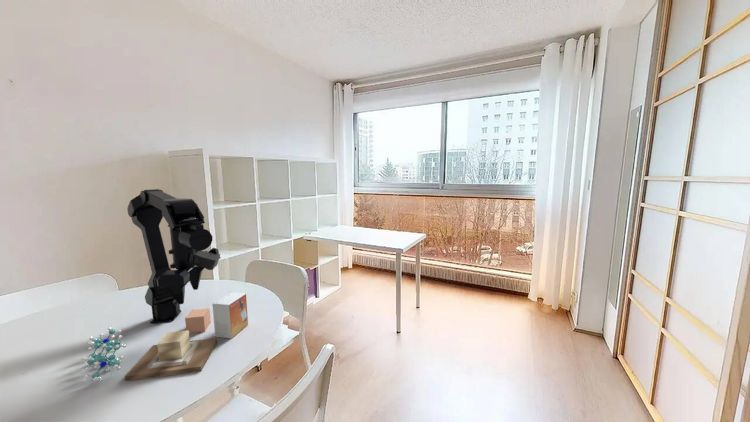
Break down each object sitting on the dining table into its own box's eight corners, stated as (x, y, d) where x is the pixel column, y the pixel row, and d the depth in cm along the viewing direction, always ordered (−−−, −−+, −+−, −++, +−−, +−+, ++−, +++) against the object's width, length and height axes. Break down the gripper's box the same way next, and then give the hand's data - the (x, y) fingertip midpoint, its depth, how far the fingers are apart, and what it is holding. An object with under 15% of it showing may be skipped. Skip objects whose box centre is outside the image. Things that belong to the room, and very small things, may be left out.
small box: (231, 339, 81) (228, 305, 80) (214, 337, 82) (211, 303, 81) (249, 324, 89) (246, 293, 88) (233, 322, 90) (230, 291, 89)
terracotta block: (186, 333, 84) (185, 318, 84) (193, 324, 89) (191, 310, 88) (205, 331, 85) (203, 316, 85) (210, 322, 90) (209, 308, 90)
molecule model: (128, 342, 80) (124, 318, 79) (128, 376, 67) (124, 348, 66) (87, 354, 75) (83, 329, 74) (79, 394, 62) (74, 364, 61)
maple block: (159, 362, 70) (157, 344, 69) (169, 350, 75) (167, 332, 74) (182, 359, 71) (180, 341, 70) (190, 347, 76) (188, 330, 75)
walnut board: (125, 381, 65) (124, 373, 65) (153, 349, 77) (152, 342, 77) (201, 370, 69) (200, 363, 68) (217, 341, 80) (217, 335, 80)
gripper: (201, 253, 72) (206, 310, 74) (225, 235, 90) (229, 281, 92) (152, 254, 70) (159, 313, 72) (187, 236, 88) (191, 283, 90)
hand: (189, 296), depth 82 cm, fingers open, 9 cm apart
